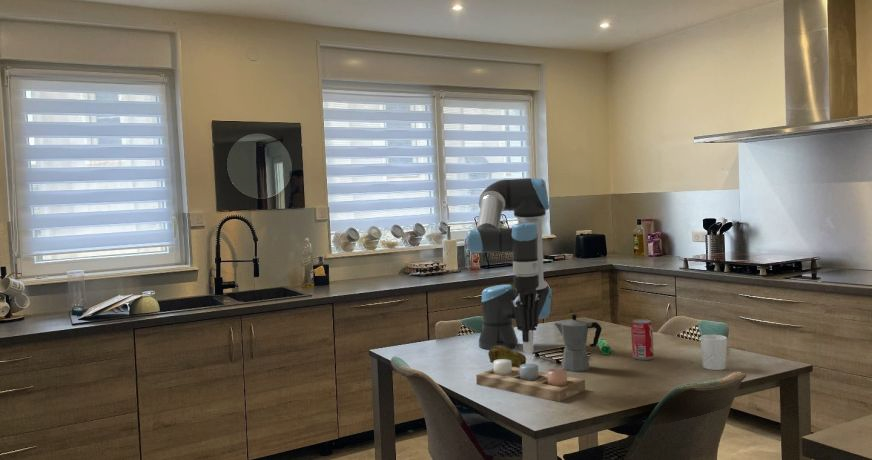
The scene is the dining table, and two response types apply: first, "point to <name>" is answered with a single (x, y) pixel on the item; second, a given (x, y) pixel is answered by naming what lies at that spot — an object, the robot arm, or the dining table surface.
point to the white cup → (714, 351)
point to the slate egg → (529, 372)
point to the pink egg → (557, 377)
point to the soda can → (642, 339)
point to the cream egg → (502, 367)
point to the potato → (506, 355)
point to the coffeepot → (576, 343)
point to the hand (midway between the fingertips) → (528, 351)
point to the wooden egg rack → (531, 385)
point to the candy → (604, 346)
